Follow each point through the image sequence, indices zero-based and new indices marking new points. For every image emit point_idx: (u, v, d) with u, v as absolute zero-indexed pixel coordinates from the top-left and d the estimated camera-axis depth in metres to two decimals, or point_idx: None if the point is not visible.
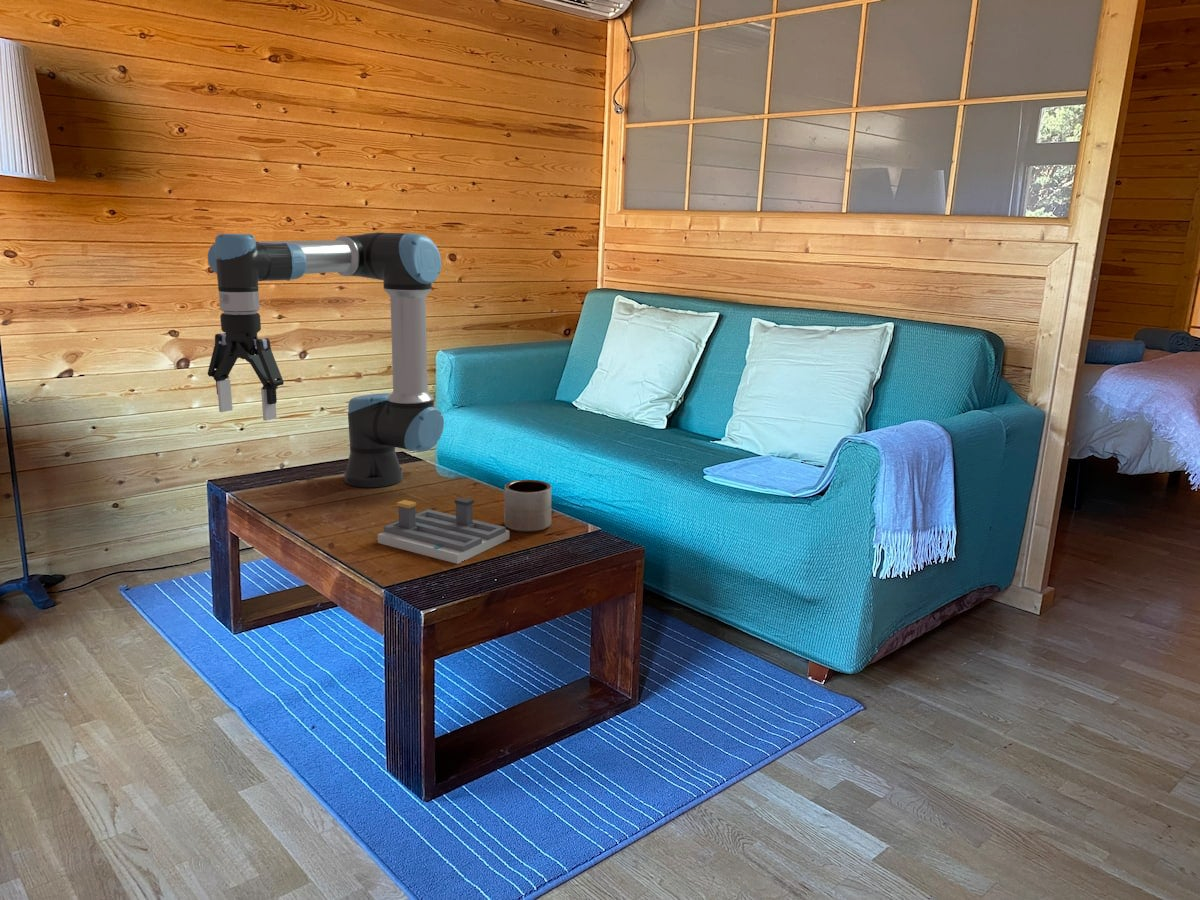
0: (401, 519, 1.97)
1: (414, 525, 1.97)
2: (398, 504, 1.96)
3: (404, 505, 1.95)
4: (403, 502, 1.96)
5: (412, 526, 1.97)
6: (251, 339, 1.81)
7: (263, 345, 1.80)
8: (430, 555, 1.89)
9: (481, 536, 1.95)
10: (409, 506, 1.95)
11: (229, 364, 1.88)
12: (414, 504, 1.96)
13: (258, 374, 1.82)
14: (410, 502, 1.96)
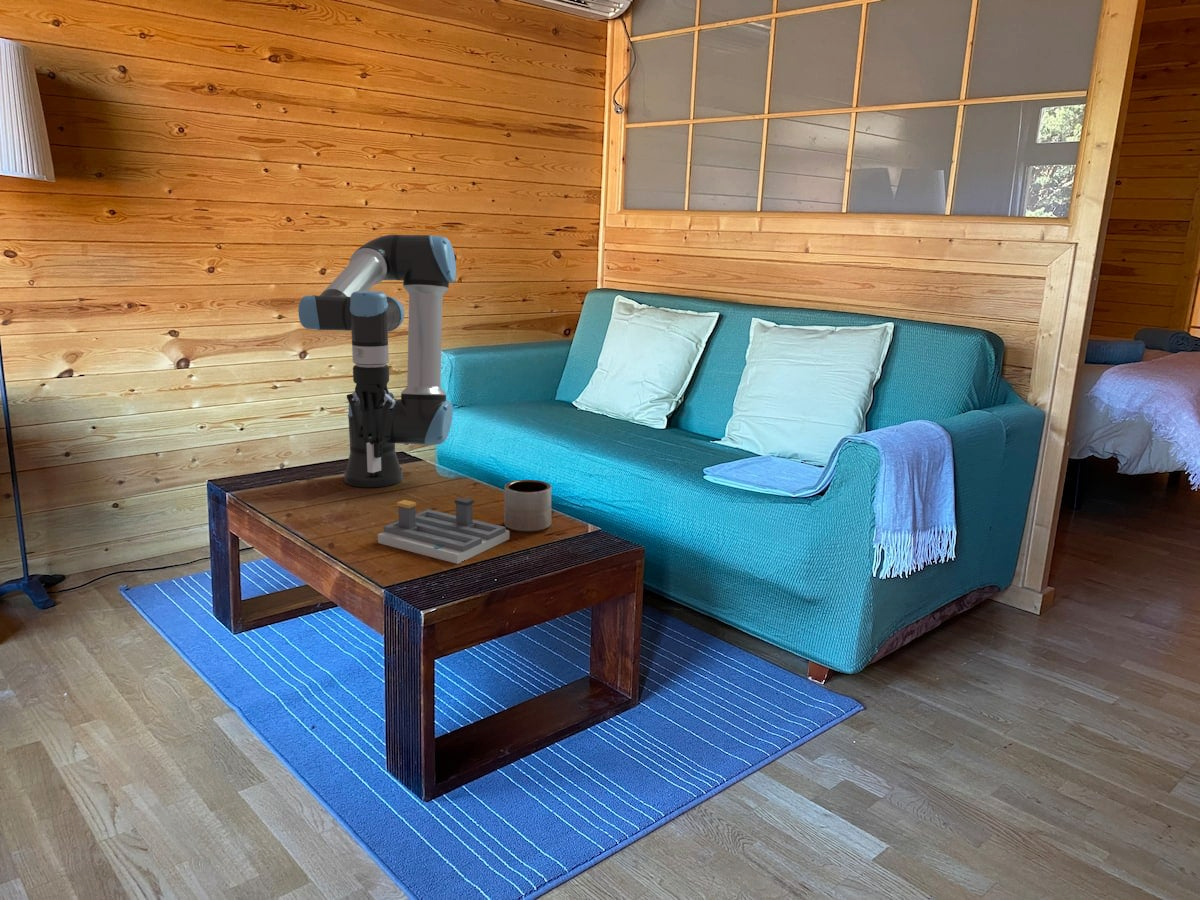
0: (401, 519, 1.97)
1: (414, 525, 1.97)
2: (398, 504, 1.96)
3: (404, 505, 1.95)
4: (403, 502, 1.96)
5: (412, 526, 1.97)
6: (383, 393, 1.92)
7: (390, 406, 1.92)
8: (430, 555, 1.89)
9: (481, 536, 1.95)
10: (409, 506, 1.95)
11: (370, 419, 1.97)
12: (414, 504, 1.96)
13: (372, 427, 1.95)
14: (410, 502, 1.96)
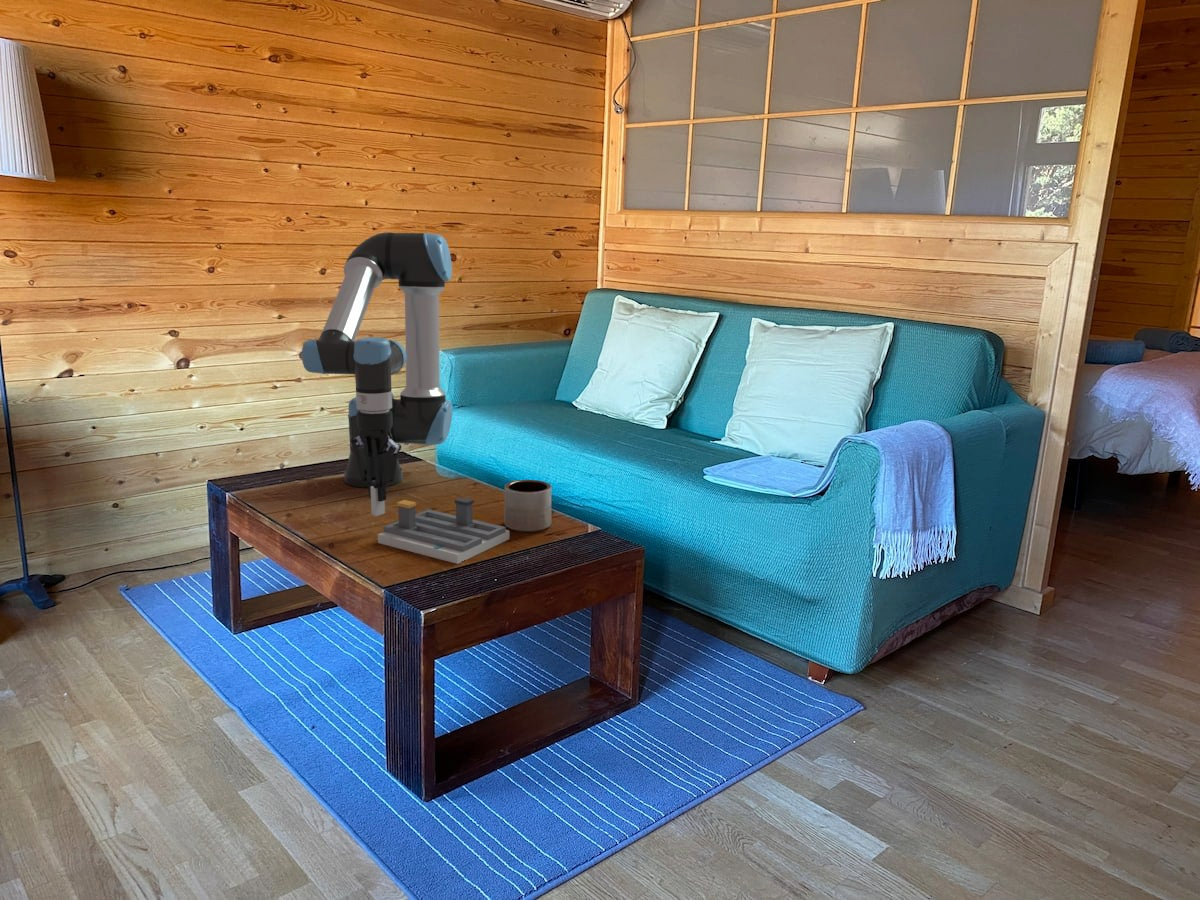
0: (401, 519, 1.97)
1: (414, 525, 1.97)
2: (398, 504, 1.96)
3: (404, 505, 1.95)
4: (403, 502, 1.96)
5: (412, 526, 1.97)
6: (387, 439, 1.94)
7: (394, 452, 1.94)
8: (430, 555, 1.89)
9: (481, 536, 1.95)
10: (409, 506, 1.95)
11: (373, 463, 1.99)
12: (414, 504, 1.96)
13: (376, 472, 1.97)
14: (410, 502, 1.96)
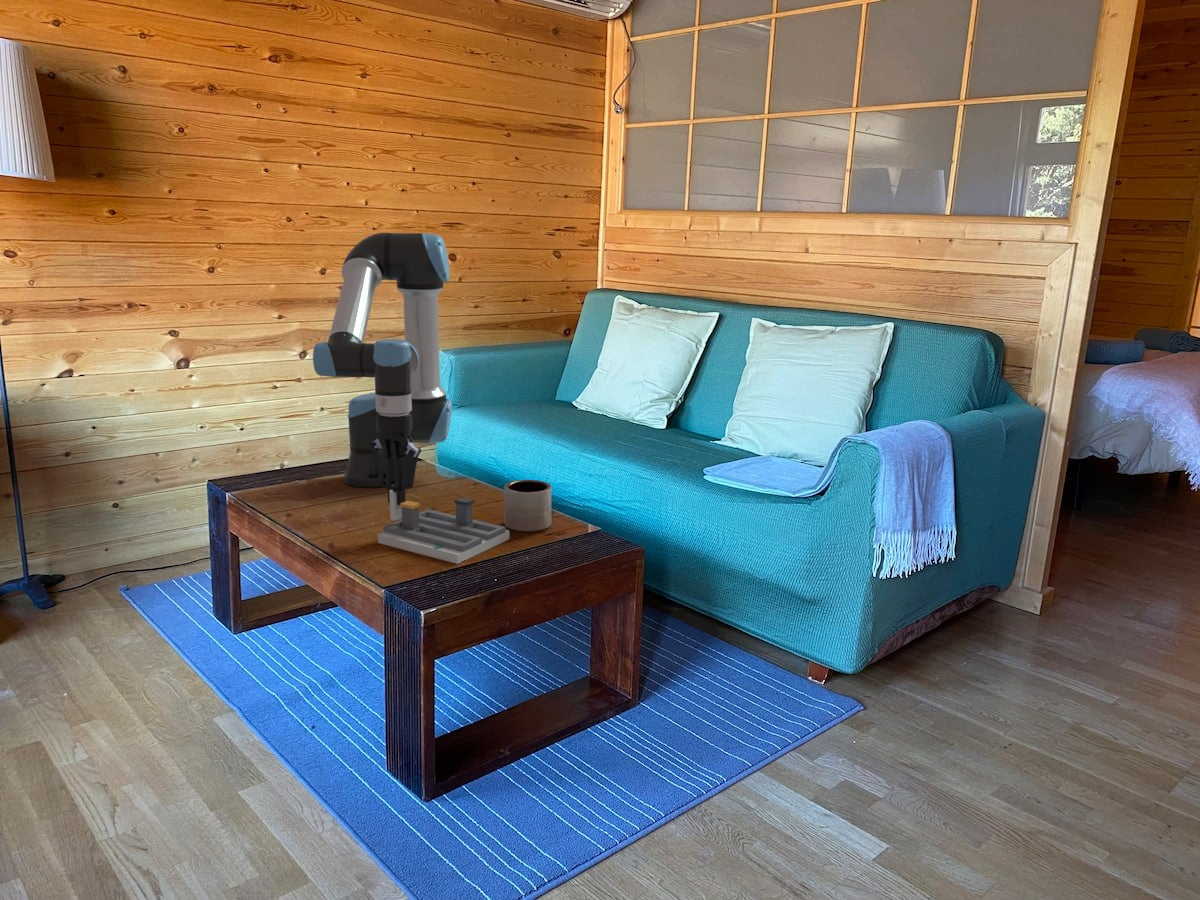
0: (404, 520, 1.96)
1: (417, 526, 1.97)
2: (401, 505, 1.96)
3: (407, 506, 1.95)
4: (406, 503, 1.96)
5: (415, 527, 1.96)
6: (406, 442, 1.91)
7: (414, 455, 1.92)
8: (430, 555, 1.89)
9: (481, 536, 1.95)
10: (412, 507, 1.94)
11: (393, 467, 1.96)
12: (417, 505, 1.96)
13: (395, 476, 1.94)
14: (413, 503, 1.96)
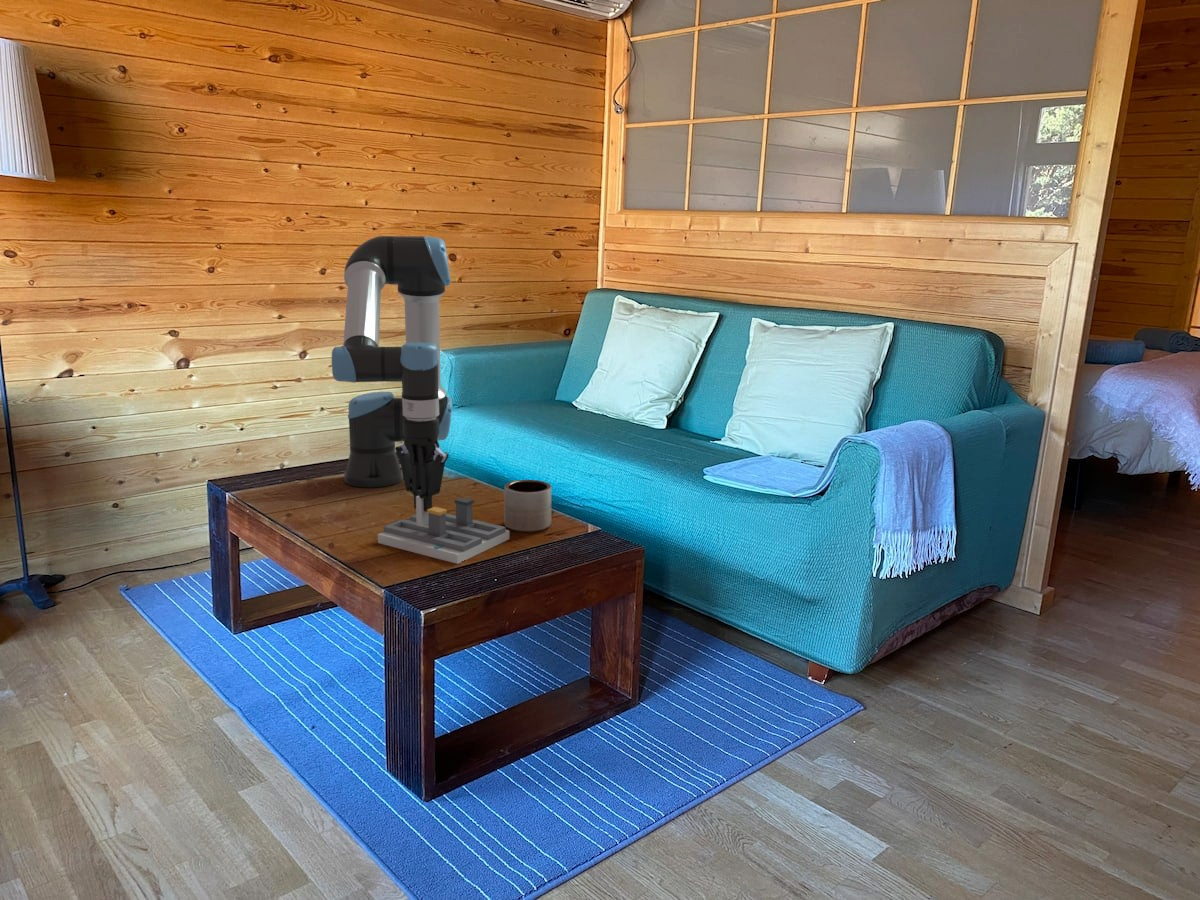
0: (431, 526, 1.93)
1: (444, 532, 1.93)
2: (428, 511, 1.92)
3: (434, 512, 1.91)
4: (433, 509, 1.92)
5: (442, 533, 1.93)
6: (434, 447, 1.88)
7: (441, 461, 1.88)
8: (430, 555, 1.89)
9: (481, 536, 1.95)
10: (440, 513, 1.91)
11: (419, 472, 1.92)
12: (445, 511, 1.92)
13: (422, 481, 1.91)
14: (440, 509, 1.92)
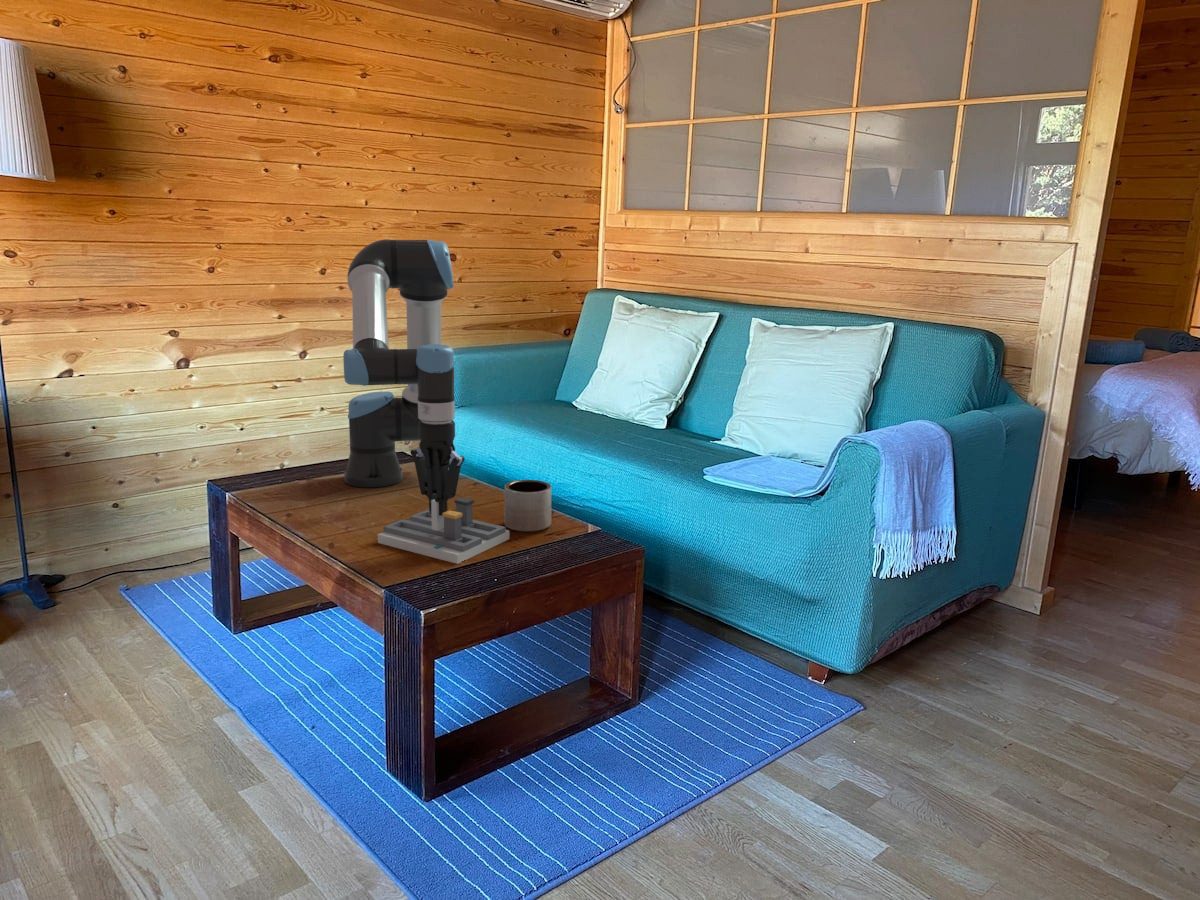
0: (447, 530, 1.91)
1: (460, 536, 1.91)
2: (444, 515, 1.90)
3: (450, 516, 1.89)
4: (449, 512, 1.90)
5: (458, 537, 1.91)
6: (450, 451, 1.86)
7: (457, 464, 1.86)
8: (430, 555, 1.89)
9: (481, 536, 1.95)
10: (455, 517, 1.89)
11: (434, 475, 1.90)
12: (460, 515, 1.90)
13: (438, 485, 1.89)
14: (456, 512, 1.90)
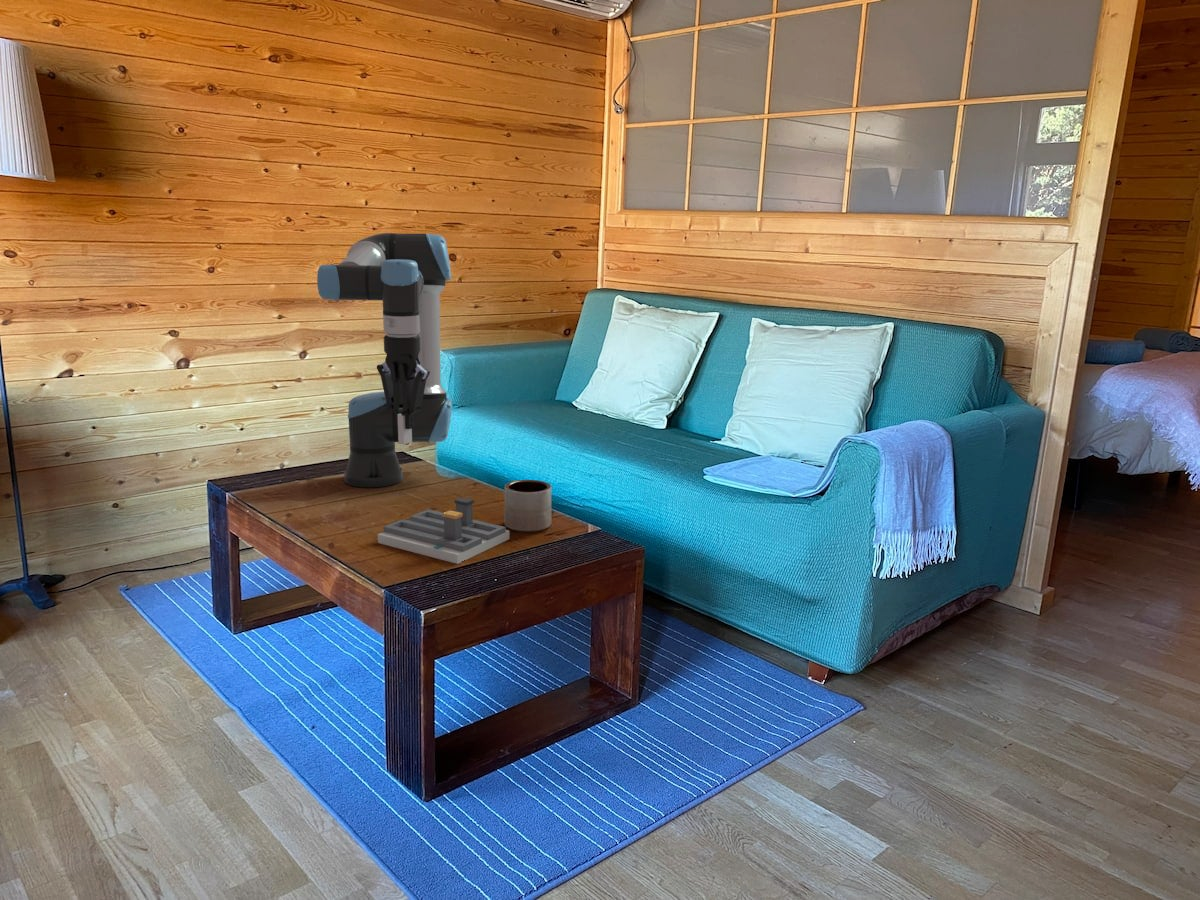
0: (447, 530, 1.91)
1: (460, 536, 1.91)
2: (444, 515, 1.90)
3: (450, 516, 1.89)
4: (449, 513, 1.90)
5: (458, 537, 1.91)
6: (415, 364, 1.90)
7: (422, 377, 1.90)
8: (430, 555, 1.89)
9: (481, 536, 1.95)
10: (455, 517, 1.89)
11: (400, 390, 1.94)
12: (460, 515, 1.90)
13: (404, 398, 1.93)
14: (456, 513, 1.90)
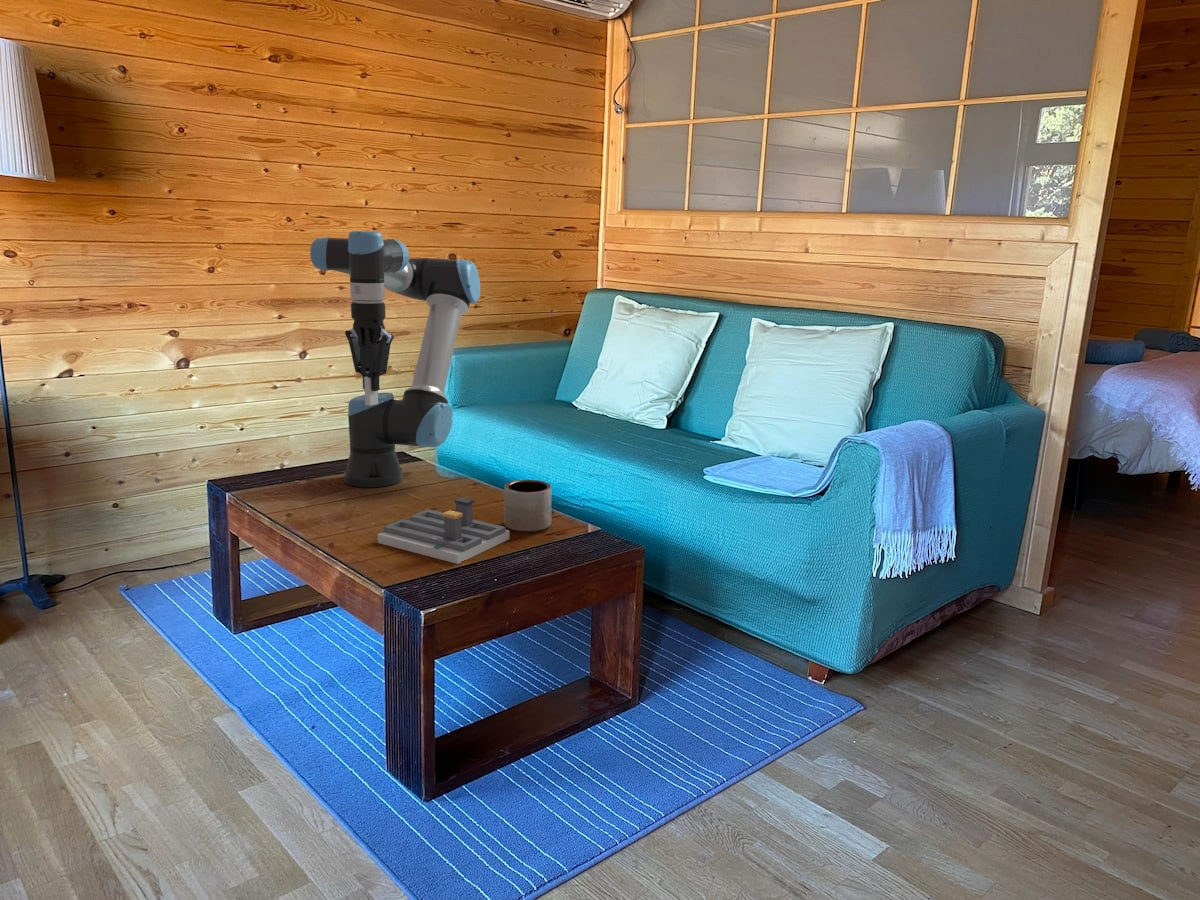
0: (447, 530, 1.91)
1: (460, 536, 1.91)
2: (444, 515, 1.90)
3: (450, 516, 1.89)
4: (449, 513, 1.90)
5: (458, 537, 1.91)
6: (379, 329, 2.02)
7: (387, 341, 2.03)
8: (430, 555, 1.89)
9: (481, 536, 1.95)
10: (455, 517, 1.89)
11: (367, 354, 2.07)
12: (460, 515, 1.90)
13: (370, 362, 2.05)
14: (456, 513, 1.90)
